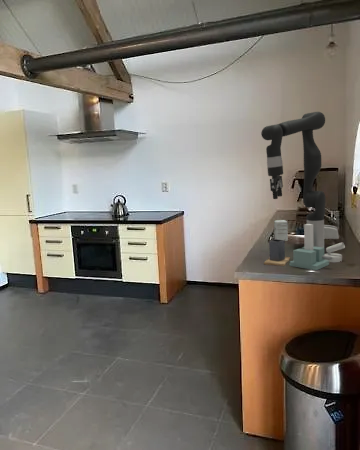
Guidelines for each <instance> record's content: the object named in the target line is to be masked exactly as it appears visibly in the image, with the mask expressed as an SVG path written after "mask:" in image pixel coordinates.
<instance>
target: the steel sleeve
mask: <svg viewBox="0 0 360 450" xmlns="http://www.w3.org/2000/svg"><path fill="white" fill-rule="evenodd" d="M268 243H269V245H268V247H269V258H270V260H272V261H278V262H279V261H282V260H285V257H286V254H285V253H286V252H285V249H286V247H285V240H278V239H275V238H274V239H272V240H269V242H268Z"/></svg>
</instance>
